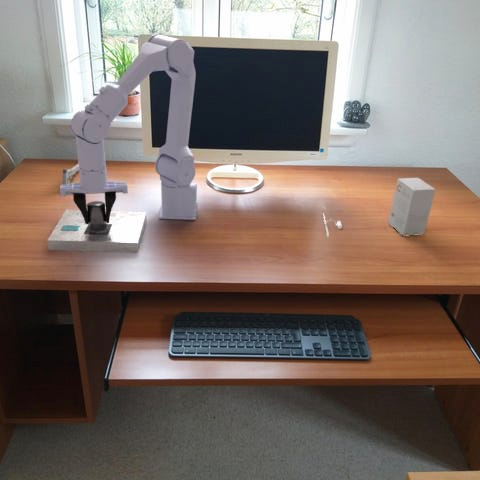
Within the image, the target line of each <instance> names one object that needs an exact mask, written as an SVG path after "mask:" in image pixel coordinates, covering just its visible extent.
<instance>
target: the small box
mask: <svg viewBox="0 0 480 480" xmlns="http://www.w3.org/2000/svg"><path fill="white" fill-rule="evenodd" d="M435 193H436V188H434V187H433V186H431V185H430V184H428V183H427V182H426V181H424V180H423V179H421V178H419V177H406V178H403V177H402V178H399V177H398V178H397V181H396V186H395V190H394V194H393V199H392V204H391V208H390V212H389V217H388V221H387V224H388V223H389V224H388V225H390V226H391V227H392V228H393V227H394V228H395V229H396V230H397V231H398V232H399V233H398V232H397V231H396V230H395V229H394V228H393V229H394V230H395V231H396V232H397V233H398V234H400V235H401V234H402V235H403V236H406V235H415V234H424V235H425V232H426V229H427V225H428V221H429V216H430V212H431V209H432V205H433V202H434V198H435V197H434V196H435ZM402 235H401V236H402ZM403 236H402V237H403ZM406 237H407V236H406Z"/></svg>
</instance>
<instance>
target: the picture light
mask: <svg viewBox="0 0 480 480" xmlns="http://www.w3.org/2000/svg"><path fill="white" fill-rule="evenodd" d="M322 214H323V215H322V220H323V219H324V220H323V223H324V229H325V234H326V237H328V238H329V236H330V234H329V233H330V232H329V229H328V225H327V221H329V222H334V225H335V227H337V229H339V230H343V229H342V227H343V225H342V221H341V220H337V221H336V220H335V219H333V218H332V219H330V218H329V219H326V214H325V213H322ZM324 214H325V215H324ZM325 219H326V220H325Z"/></svg>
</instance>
